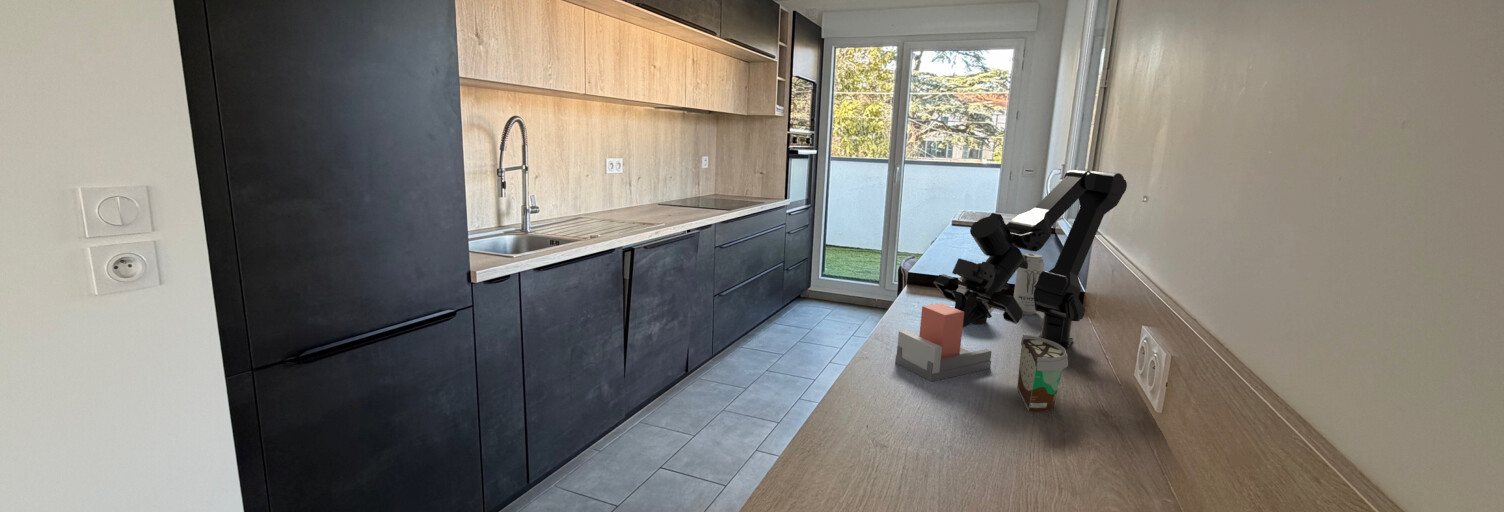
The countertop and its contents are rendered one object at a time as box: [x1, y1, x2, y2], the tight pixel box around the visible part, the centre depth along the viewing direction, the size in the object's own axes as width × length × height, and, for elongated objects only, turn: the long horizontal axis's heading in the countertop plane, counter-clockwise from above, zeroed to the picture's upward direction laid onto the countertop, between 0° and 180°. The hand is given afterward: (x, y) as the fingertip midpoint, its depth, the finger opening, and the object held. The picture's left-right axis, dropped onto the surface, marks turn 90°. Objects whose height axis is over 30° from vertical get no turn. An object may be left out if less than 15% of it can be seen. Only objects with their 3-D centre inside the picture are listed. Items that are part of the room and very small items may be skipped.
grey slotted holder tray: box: [894, 329, 992, 382], centre depth 122 cm, size 16×10×6 cm, turn 118°
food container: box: [1016, 334, 1069, 413], centre depth 107 cm, size 12×6×10 cm, turn 168°
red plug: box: [918, 302, 964, 358], centre depth 120 cm, size 5×6×10 cm
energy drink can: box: [1013, 252, 1045, 316], centre depth 158 cm, size 6×6×15 cm
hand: (951, 329), depth 122 cm, fingers closed, pressing on red plug
